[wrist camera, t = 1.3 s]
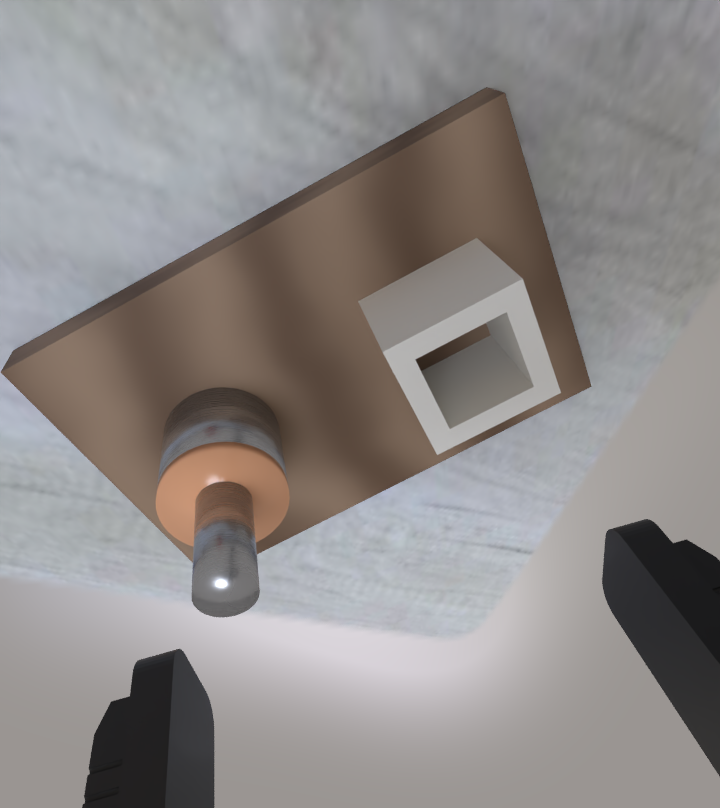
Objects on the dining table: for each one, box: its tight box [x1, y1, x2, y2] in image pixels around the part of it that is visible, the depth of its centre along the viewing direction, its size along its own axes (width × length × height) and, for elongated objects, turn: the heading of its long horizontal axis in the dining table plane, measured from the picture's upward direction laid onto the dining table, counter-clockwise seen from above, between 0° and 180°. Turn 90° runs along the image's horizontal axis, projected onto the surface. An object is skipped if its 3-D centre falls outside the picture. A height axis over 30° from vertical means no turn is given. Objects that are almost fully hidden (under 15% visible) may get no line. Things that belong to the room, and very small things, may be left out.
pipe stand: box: [1, 87, 591, 617], centre depth 27 cm, size 24×16×12 cm, turn 116°
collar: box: [358, 238, 561, 455], centre depth 28 cm, size 6×6×5 cm
